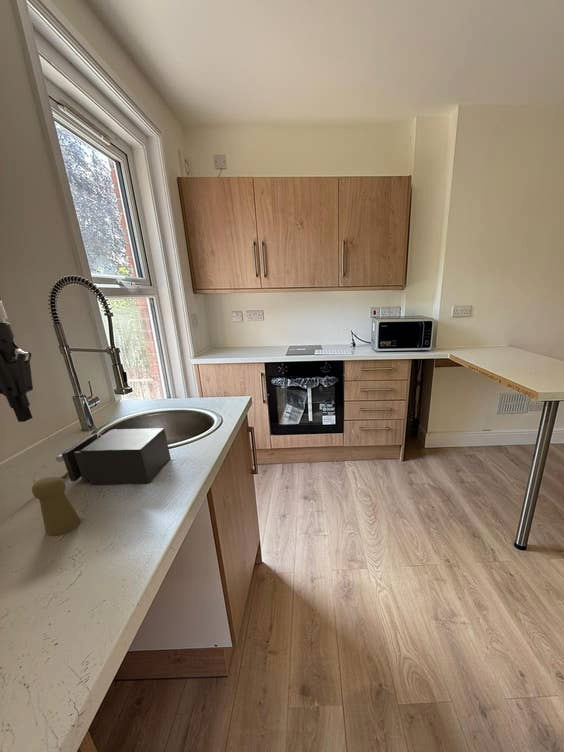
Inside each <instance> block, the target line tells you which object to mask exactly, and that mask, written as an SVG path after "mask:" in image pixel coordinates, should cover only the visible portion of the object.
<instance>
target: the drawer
mask: <svg viewBox="0 0 564 752" xmlns="http://www.w3.org/2000/svg"><path fill="white" fill-rule="evenodd" d="M103 435H104V434H100V435H98V434H97V433H91V434H90V435H87V437H84V438H83V439H82V440H80V441H78V442H77V443H75V444H74V445H72V446H71V447H69V448H67V449H66V450H65V451H63V452H61V453H60V454H58V455H57V456H55V458H54V459H55V461H56V462H57V463H61V462H64V464H65V468H66V471H67V474H68V476H69V479H70V482H76V481H78V480H79V479H80V478H81V479H89V477H88V474H87V470H86V467H85V464H84V461H83V458H82V455H81V452H80V451H81V450H82V449H83V448H85V447H86V446H88V445H89V444H91V443H92V442H94V441H95V440H97V439H98V438H100V437H101V436H103Z"/></svg>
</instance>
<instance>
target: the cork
mask: <svg viewBox="0 0 564 752" xmlns="http://www.w3.org/2000/svg"><path fill="white" fill-rule="evenodd" d="M65 490H66V483H65V481H64V479H63V478H61V477H59V476H53V475H52V476H45V477H43V478H40V479H39V480H37V481H36V482H34V483H33V485H32V487H31V492H32V495H33V496H34V497H35V498H36V499H38V500H39V505H40V510H41V515H42V520H43V526H44V530H45V534H46V535H48V536H51V537H54V536H60V535H65V534H67V533H69V532H71V531H73V530H75V529H76V528H77V527H79V525H81V521H82V520H81V518H80V516H79V515H78V513H77V511H76V509H75V508H74V505H73V504H72V502H71V501H70V499H69V497H68V496H67V494H66V492H65Z"/></svg>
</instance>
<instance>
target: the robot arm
mask: <svg viewBox="0 0 564 752" xmlns="http://www.w3.org/2000/svg"><path fill="white" fill-rule="evenodd" d="M6 320H8V314H7V312H6V310H5V307H4V304H3V302H2V299H1V297H0V395H3V396H4V397H5V399H6V400H7V402H8V405H9V407H10V409H13V413H14V415H15V417H16V420H17V422H18V423H25V422H27V421H29V420H31V419H33V418H34V417H33V415H32V412H31V410H30V406H31V403H30V401H29V397H28V395H27V393H29V392H31V391H33V390H34V385H33V378H32V370H31V358H32V352H31V351H24V350H22V349H20V348H19V345H18V344H17V343H16V342H15V340H14V339H15V333H14V331H13V328H12V325H11V323H10V322H9V321H6Z"/></svg>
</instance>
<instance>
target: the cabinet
mask: <svg viewBox="0 0 564 752" xmlns="http://www.w3.org/2000/svg"><path fill="white" fill-rule="evenodd" d="M102 435H103V436H101V437H100V438H99V437H98V439H97V440H95V441H94V442H92V443H91V444H89V445H88V446H86V447H85V448H83V449H82V450H81V451H80V452H81V455H82V458H83V461H84V464H85V467H86V470H87V474H88V477H89V478H88V480H89V482H90V485H91V486H111V485H113V486H114V485H120V486H121V485H149V484H151V483H152V481H153V480H154V479H155V478H156V477H157V476H158V474H160V472H161V471H162V470H163V469H164V468H165V467H166V465H167V464H168V463H169V462H170V461H171V460H172V457H171V453H170V447H169V443H168V439H167V435H166V430H165V428H164V427H155V428H151V427H149V428H120V429H119V428H114V429H110V430H108V431H107V432H106V433H104V434H102Z"/></svg>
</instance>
